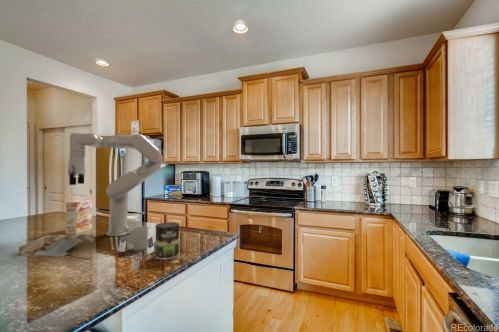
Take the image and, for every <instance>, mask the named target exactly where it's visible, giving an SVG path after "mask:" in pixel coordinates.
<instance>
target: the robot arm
mask: <svg viewBox="0 0 499 332" xmlns="http://www.w3.org/2000/svg"><path fill="white" fill-rule="evenodd" d="M86 146H87V147H93V148H103V149H126V150H127V149H129V150H131V149H132V150H136V151H137V152H138V153H140V154H141V155H142V156H143V157H144V158H146V160H147V161H145V163H143V164H141V165H140V166H138V167H137V168H136V169H134V170H131V171H128V172H126V173H124V174H123V175H120V176H119V177H118V178H117V179H115V180H113V181H112V182H111V183H109V184H108V185H107V186H106V189H105V193H106V195H107V197H108V198H109V231H107V232H106V236H109V237H118V236H119V237H120V236H125V235H128V234H131V231H130V229H132V228H135V226H130V224H128V199H129V197H128V196H129V192H131V191H132V190H133V189H135V188H136V187H138V186H140V185H141V183H143V182H145V181H146V180H147V179H148V178H150V177H152V176H153V175H154V174H155V173H157V172H158V171H159V170H160V168H161V167H162V165H163V164H162V163H163V155H162V153H161V151H160V149H158V148H157V147H156V146H155V145H154V143H151V142H150V141H149V140H148V139H147V138H146V137H145V135H143V134H140V133H136V134H124V133H123V134H121V133H120V134H119V133H118V134H115V135H98V134H95V133H91V132H90V133H89V132H88V133H80V132H79V133H78V132H77V133H76V132H75V133H74V132H73V133H70V134H69V152H68V153H69V155H68V156H69V158H68V165H67V174H68V179H69V183H68V185H69V186H77V184H81V185H82V184H83V185H84V184H85V173H86V165H85V163H86V162H85V157H86ZM77 176H78V177H77Z"/></svg>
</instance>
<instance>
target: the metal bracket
mask: <svg viewBox="0 0 499 332" xmlns="http://www.w3.org/2000/svg"><path fill="white" fill-rule="evenodd" d="M78 242H80V241H75V239H72V241H71V238H70V239H69V240H62V239H59V240H58V241H57V242H55V243H52V244H48V245H47V246H46V247H45V248H44V250H38V251H37V252H35V253H34V254H33V256H36V257H37V256H38V257H40V256H41V257H57V258H63V257H65V256H66V255H68V250H70V249H72V248H75V246H76V245H77V244H79V243H78Z"/></svg>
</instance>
